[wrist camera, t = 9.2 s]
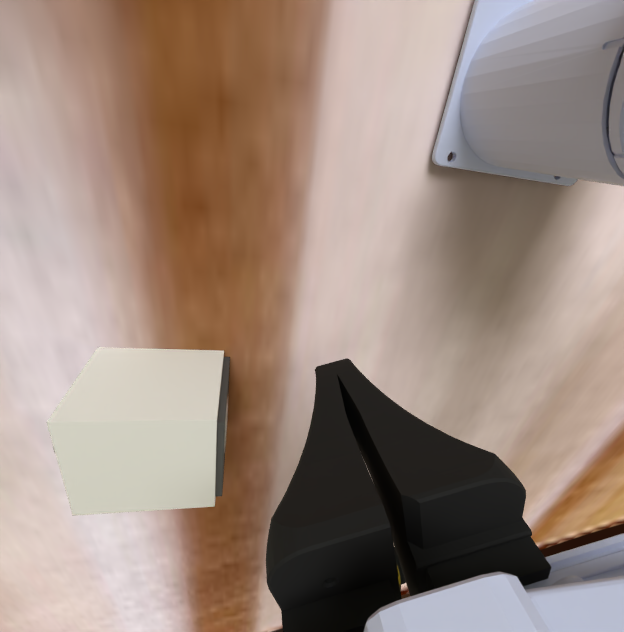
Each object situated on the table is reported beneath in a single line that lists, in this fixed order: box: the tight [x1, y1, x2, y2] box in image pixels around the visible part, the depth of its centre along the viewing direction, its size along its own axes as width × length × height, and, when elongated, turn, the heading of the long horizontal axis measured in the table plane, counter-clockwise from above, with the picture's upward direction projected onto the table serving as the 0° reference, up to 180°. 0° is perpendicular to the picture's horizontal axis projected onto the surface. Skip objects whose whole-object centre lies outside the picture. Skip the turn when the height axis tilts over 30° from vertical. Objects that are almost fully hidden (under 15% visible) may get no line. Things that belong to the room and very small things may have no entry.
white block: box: [47, 347, 230, 516], centre depth 21 cm, size 8×7×6 cm
